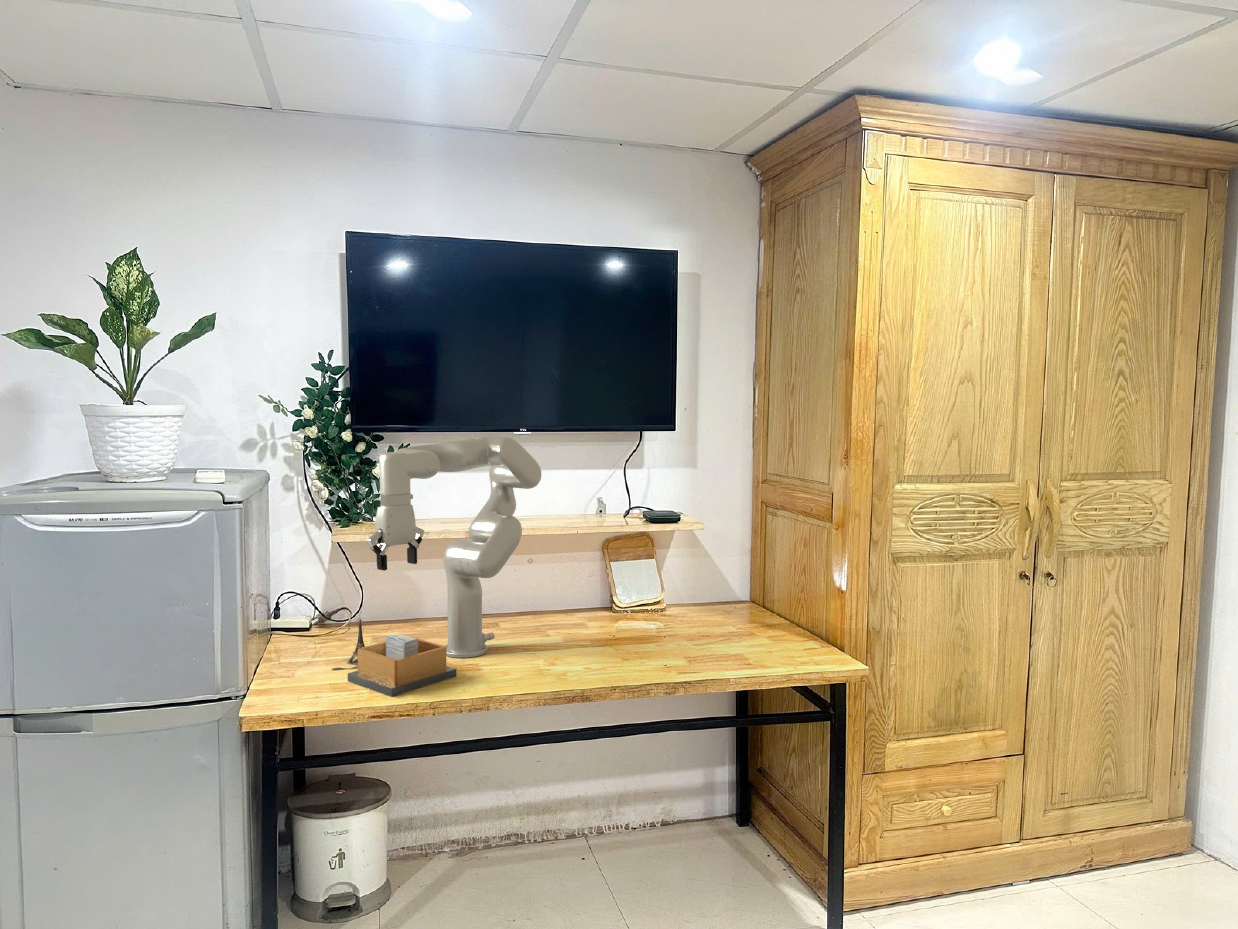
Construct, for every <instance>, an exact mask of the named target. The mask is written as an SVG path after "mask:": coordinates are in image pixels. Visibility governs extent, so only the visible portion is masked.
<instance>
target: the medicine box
mask: <svg viewBox="0 0 1238 929" xmlns="http://www.w3.org/2000/svg"><path fill="white" fill-rule="evenodd" d="M409 636H410V635H405V634H401V633H397V634H392V635H389V636H386V637H385V642H386V656H387V657H390V658H394V659H400V658H404V657H407V656H411V655H415V654H418V639H419V638H418V639H416V638H417V637H414V638H413V636H410V637H409Z"/></svg>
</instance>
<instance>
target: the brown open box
mask: <svg viewBox="0 0 1238 929" xmlns="http://www.w3.org/2000/svg"><path fill="white" fill-rule="evenodd" d="M408 636H409V637H411V636H410V635H408ZM412 637H413V636H412ZM413 638H416V639H418V654H415V655H411V656H407V657H404V658H400V659H394V658H390V657H387V656H386V641H382V642H378V643H373V644H371V645H367V646H366V645H365V647H362V648H358V657H357V659H358V665H357V666H358V668H357V670H356V671H355V670H354V671H351V672H348V673H347V682H349V683H352V684H354V685H358V686H360V687H363V688H364V689H365V688H366V689H368V688H369V690H371V691H375V692H376V693H380V694H383V695H386V696H388V697H391V698H392V697H396V696H399V695H402V694H405V693H408V691H409V692H412V691H414V690H418V689H420V688H424V687H427V686H430V685H434V684H437V683H440V681H441V682H443V681H447V680H450V679H453V678H455V677H456V678H457V668H454V667H451V666H448V665H447V656H446V645H442V644H438V643H435V642H432V641H429V640H425V639H421V638H417V637H415V636H414V637H413Z"/></svg>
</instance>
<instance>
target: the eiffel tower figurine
mask: <svg viewBox="0 0 1238 929" xmlns="http://www.w3.org/2000/svg"><path fill="white" fill-rule="evenodd" d="M362 627H363V626H362V618H359V619H358V635H357V636H358V637H357V643H356V646H355V650H354V651H353V652H352V655H351V657H350V659H348V661H347V662H346V664H348V665H353V666H354V667H350V668H348V667H347V668H346V667H345V668H343V667H334V668H331V671H337V670H340V671H341V670H353V669H358V648H362V647H366V645H365V643H364V636H363V628H362ZM355 658H357V659H355Z"/></svg>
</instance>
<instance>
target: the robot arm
mask: <svg viewBox="0 0 1238 929" xmlns="http://www.w3.org/2000/svg"><path fill="white" fill-rule="evenodd" d="M378 460H379V461H378V462H379V492H380V494H379V497H380V498H379V499H380V500H379V501H380V506H377V509H376V514H375V523H374V524H375V525H374V526H375V527H374V533H373V534H372V535H371V536H370V537H368V538H367V543H368V545H369V547H370V549H371V551H372V552H373V553H374V554H375V555H376V556H375V557H376V569H377V570H378V571H383V572H384V571H388V556H387V554H386V552H387V550H388V548H389V547H396V546H400V545H405V544H406V545H407V546H408V547H407V548H406V561H407V563H408V564H411V565H418V549H419V548H420V545H421V543H422V541H423V536H424V534H425V530H424V529H422V528H420V527H418V526H416V524H417V523H416V516H415V510H414V507H413V504H412V503H411V502H412V500H413V498H414V495H413V493H412V492H411V479H420V480H422V479H423V480H426V479H427V480H428V479H430V478H433V477H434V476H436V475H437V474H438V472H439V473H459V472H464V471H469V470H472V469H477V468H479V469H480V468H484V467H490V468H489V475H488V476H489V481H490V482H489V483H490V495H489V497H488V500H487V501H486V503H485V504H484V505H483V507H482V508H481V510H480V511H479V512H478V513H477V515H476V516H475V517H474V519H473V520H472V522H471V523H470V525H469V527H468V532H467V533H468V537H469V540H468V539H467V540H466V539H459V540H454V541H452V542H450V543H449V544H448V545H447V546H446V547H445V550H444V553H443V564H444V570H445V576H446V581H447V582H446V583H447V585H446V586H447V588H446V589H447V644H445V646H446V657H450V658H457V659H458V658H459V659H460V658H462V659H464V658H473V657H474V658H475V657H478V656H482V655H484V654H486V653H487V652H488V651H489V650H488V649H489V648H488V645H487V644H486V642H487V641H492V640H494V639H495V633H494V632H489V633H484V632H483V591H482V590H483V589H482V583H481V580H480V578H481V579H491V578H493V577H496V575H497V574H499V573H500V571H501V570H502V569H503V568H504V566H505V565H506V563H507V562H508V561H509V559H510V557H511V556H512V555H513V553H514V552H515V550H516V549H517V547H518V545H519V544H520V542H521V539H522V533H523V528H522V523H521V522H520V520H519V518H517V517H515V516H514V514H515V512H516V510H517V501H516V497H515V491H514V489H526V490H529V489H533V488H535V487H537V486H538V485H539V484H540V482H541V480H542V469H541V466H540V465H539V463H538V462H537V460H536V459H535V458H534V457H533V456H532V455H531V454H530V453H529V452H528V451H527V450H526V449H525V448H524V447H523V446H522V445H521V443H519V442H518V441H516V440H515V439H514V438H512V437H510V436H498V435H496V436H495V435H484V436H478V437H477V436H476V437H472V438H466V439H459V440H454V441H445V442H439V443H432V444H422V445H415V446H408V447H403V448H399V449H396V450H395V451H392V452H391V451H389V452H383V453H381V454H380V456H379V459H378Z"/></svg>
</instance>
